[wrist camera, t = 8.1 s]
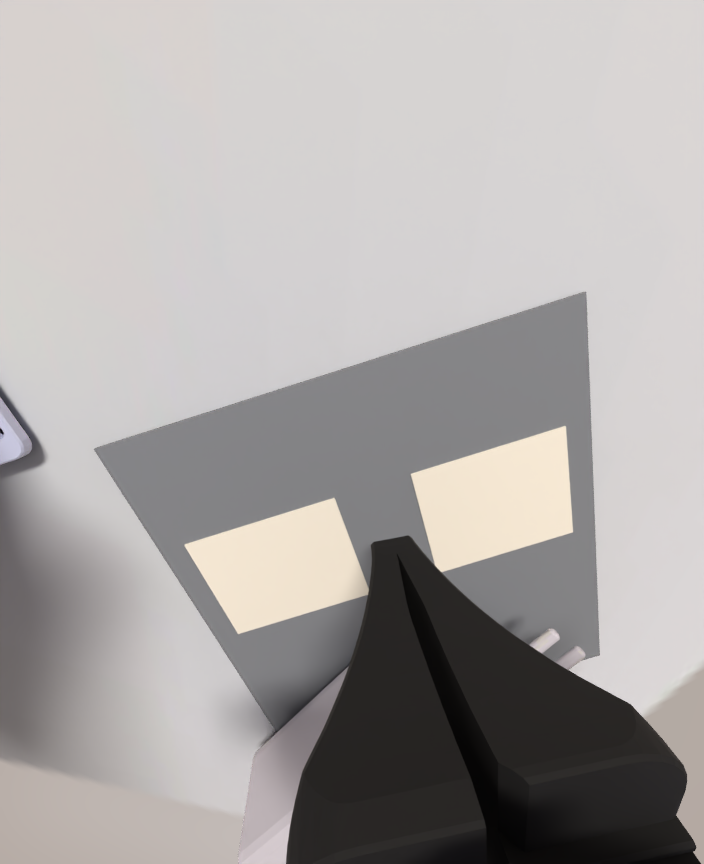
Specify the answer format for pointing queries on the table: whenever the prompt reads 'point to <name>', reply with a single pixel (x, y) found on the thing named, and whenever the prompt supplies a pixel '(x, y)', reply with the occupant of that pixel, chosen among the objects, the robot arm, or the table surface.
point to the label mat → (382, 497)
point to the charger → (287, 758)
